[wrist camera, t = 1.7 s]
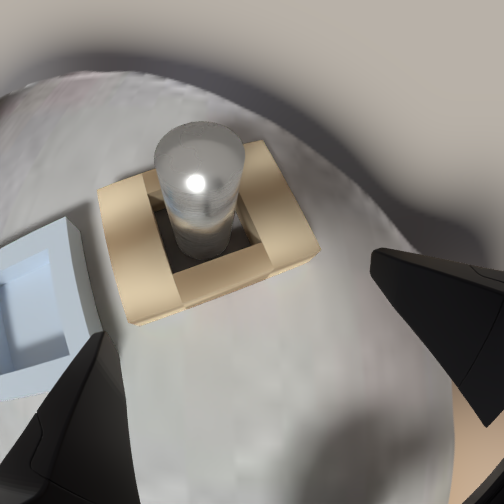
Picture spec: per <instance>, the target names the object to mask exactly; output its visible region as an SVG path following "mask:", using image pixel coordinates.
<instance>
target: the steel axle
mask: <svg viewBox="0 0 504 504" xmlns="http://www.w3.org/2000/svg"><path fill="white" fill-rule="evenodd" d="M244 162H245V149H244V146H243V143H242V141H241V140H240V138H239V137H238V136H237V135H236V134H235V133H234V132H233V131H232V130H230V129H229V128H227V127H225V126H222V125H220V124H217V123H212V122H204V121H203V122H191V123H187V124H183V125H181V126H178V127H176V128H174V129H173V130H171V131H170V132H168V133H167V134H166V135H165V136H164V137H163V138H162V139H161V140H160V142H159V143H158V145H157V147H156V150H155V155H154V163H155V167H156V171H157V175H158V179H159V183H160V187H161V190H162V194H163V198H164V202H165V205H166V209H167V212H168V216H169V219H170V223H171V226H172V229H173V233H174V236H175V239H176V243H177V245H178V247H179V248H180V250H181V251H182V252H183V253H184V254H185V255H187V256H189V257H191V258H193V259H197V260H207V259H211V258H214V257H216V256H218V255H219V254H221V253H222V252H223V251H224V250H225V248H226V247H227V245H228V243H229V240H230V235H231V230H232V224H233V219H234V213H235V208H236V203H237V198H238V192H239V187H240V182H241V177H242V172H243V167H244Z"/></svg>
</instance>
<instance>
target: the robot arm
mask: <svg viewBox="0 0 504 504" xmlns="http://www.w3.org/2000/svg"><path fill="white" fill-rule="evenodd" d="M370 274H371V277H372V278H373V280H374V281H375V282H376V284H377V285H378V287H379V288H380V289H381V291H382V292H383V293H384V295H385V296H386V298H387V299H388V300H389V302H390V303H391V305H392V306H393V307H394V308H395V310H396V311H397V312H398V313H399V314H400V316H401V317H402V318H403V319H404V320H405V321H406V323H407V324H408V325H409V326H410V327H411V329H412V330H413V331H414V332H415V333H416V335H417V336H418V337H419V338H420V340H421V341H422V342H423V343H424V344H425V346H426V347H427V348H428V349H429V351H430V352H431V353H432V354H433V356H434V357H435V358H436V360H437V361H438V362H439V363H440V365H441V366H442V367H443V369H444V370H445V371H446V373H447V374H448V375H449V376H450V378H451V379H452V381H453V382H454V383H455V384H456V386H457V387H458V389H459V390H460V392H461V393H462V394H463V396H464V397H465V398H466V400H467V401H468V403H469V404H470V406H471V407H472V408H473V410H474V411H475V413H476V414H477V416H478V417H479V419H480V420H481V422H482V423H483V425H484V426H485V427H486V428H487V427H488V426H489V425H490V424H491V423H492V422H493V421H494V420H495V419H496V418H497V416H498V415H499V414H500V413H501V412H502V411H503V410H504V271H499V270H494V269H488V268H483V267H478V266H474V265H468V264H464V263H459V262H454V261H449V260H445V259H439V258H435V257H430V256H424V255H420V254H414V253H409V252H404V251H399V250H393V249H388V248H379V249H376V250H374V251H373V252H372V254H371V264H370ZM0 504H141V503H140V499H139V494H138V489H137V484H136V479H135V473H134V467H133V460H132V454H131V446H130V438H129V429H128V418H127V406H126V397H125V391H124V385H123V379H122V372H121V365H120V358H119V353H118V351H117V349H116V347H115V345H114V344H113V342H112V340H111V338H110V337H109V335H108V333H107V332H106V331H100V332H96V333H93V334H92V335H91V337H90V338H89V339H88V341H87V342H86V343H85V344H84V346H83V347H82V348H81V350H80V351H79V352H78V354H77V355H76V356H75V358H74V359H73V360H72V362H71V363H70V364H69V366H68V367H67V368H66V370H65V371H64V373H63V374H62V375H61V377H60V378H59V379H58V381H57V382H56V384H55V385H54V387H53V388H52V389H51V391H50V392H49V394H48V395H47V397H46V398H45V400H44V401H43V403H42V404H41V406H40V407H39V409H38V410H37V413H35V415H34V416H33V418H32V419H31V421H30V422H29V424H28V425H27V427H26V428H25V430H24V431H23V433H22V434H21V436H20V437H19V439H18V440H17V441H16V443H15V444H14V446H13V447H12V448H11V450H10V451H9V453H8V454H7V455H6V457H5V458H4V460H3V461H2V462H1V464H0ZM462 504H504V458H503V459H502V461H501V462H500V463H499V464H498V466H497V467H496V468H495V469H494V470H493V472H492V473H491V474H490V475H489V476H488V477H487V479H486V480H485V481H484V482H483V483H482V484H481V485H480V486H479V487H478V488H477V489H476V490H475V491H474V492H473V493H472V494H471V495H470V496H469V498H467V499H466V500H465V501H464V502H463V503H462Z"/></svg>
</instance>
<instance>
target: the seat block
mask: <svg viewBox="0 0 504 504" xmlns="http://www.w3.org/2000/svg"><path fill="white" fill-rule="evenodd" d="M100 331H103V329H102V326H101V322H100V319H99V315H98V312H97V308H96V304H95V301H94V297H93V293H92V289H91V284H90V280H89V276H88V271H87V266H86V261H85V256H84V251H83V245H82V240H81V233H80V231H79V230H78V229H77V228H76V227H75V226H74V225H73V224H72V223H71V221H70V220H69V219H68V218H67V217H66V216H65V217H63V218H61V219H59V220H57V221H54V222H52V223H50V224H48V225H46V226H44V227H42V228H40V229H37V230H35V231H33V232H31V233H29V234H27V235H25V236H23V237H21V238H19V239H18V240H16V241H14V242H12V243H10V244H8V245H6V246H4V247H3V248H1V249H0V402H1V401H8V400H14V399H19V398H24V397H28V396H33V395H37V394H42V393H46V392H50V391H51V389H52V388H53V387H54V385H55V384H56V382H57V381H58V379H59V378H60V377H61V375H62V374H63V373H64V371H65V370H66V368H67V367H68V366H69V364H70V363H71V362H72V360H73V359H74V358H75V356H76V355H77V354H78V352H79V351H80V350H81V348H82V347H83V346H84V344H85V343H86V342H87V341H88V339H89V338H90V337H91V335H92V334H93V333H96V332H100Z"/></svg>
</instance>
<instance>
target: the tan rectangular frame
mask: <svg viewBox="0 0 504 504" xmlns="http://www.w3.org/2000/svg"><path fill="white" fill-rule="evenodd" d="M243 146H244V149H245V162H244V167H243V172H242V177H241V182H240V187H239V192H238V198H237V203H236V208H235V211H236V213H237V215H238V217H239V220H240V222H241V224H242V226H243V229H244V231H245V233H246V235H247V238H248V240H249V242H250V244H251V246H250V247H247V248H244V249H241V250H238V251H236V252H233V253H230V254H227V255H224V256H222V257H219V258H216V259H213V260H211V261H208V262H205V263H202V264H199V265H197V266H194V267H191V268H188V269H186V270H183V271H180V272H177V273H174V274H173V271H172V268H171V265H170V262H169V259H168V256H167V253H166V250H165V247H164V244H163V240H162V237H161V234H160V231H159V228H158V224H157V221H156V218H155V214H154V212H156V211H159V210H162V209H165V208H166V205H165V202H164V198H163V194H162V190H161V187H160V183H159V179H158V175H157V171H156V168H155V169H152V170H149V171H146V172H144V173H141V174H138V175H135V176H132V177H129V178H127V179H124V180H121V181H118V182H116V183H113V184H110V185H108V186H105V187H103V188H100V189H98V190H97V194H98V200H99V206H100V212H101V218H102V223H103V228H104V233H105V238H106V243H107V247H108V252H109V256H110V260H111V264H112V268H113V272H114V276H115V280H116V283H117V287H118V291H119V294H120V298H121V301H122V304H123V308H124V311H125V314H126V317H127V320H128V323H131V324H134V325H137V326H142V325H144V324H147V323H150V322H153V321H156V320H159V319H161V318H164V317H167V316H170V315H172V314H175V313H178V312H181V311H183V310H186V309H189V308H192V307H194V306H197V305H200V304H202V303H205V302H208V301H210V300H213V299H216V298H218V297H221V296H224V295H226V294H229V293H231V292H234V291H237V290H239V289H242V288H244V287H247V286H250V285H252V284H255V283H257V282H260V281H262V280H265V279H267V278H270V277H272V276H275V275H278V274H280V273H283V272H285V271H287V270H290V269H292V268H295V267H297V266H300V265H302V264H305V263H307V262H309V261H310V260H311V259H312V258H313V257H314V256H315V255H316V254H317V253H319V252H320V251H321V248H320V246H319V244H318V242H317V240H316V238H315V236H314V234H313V232H312V230H311V228H310V226H309V224H308V222H307V220H306V218H305V216H304V214H303V212H302V210H301V208H300V207H299V205H298V203H297V201H296V199H295V197H294V195H293V193H292V191H291V190H290V188H289V186H288V184H287V182H286V180H285V179H284V177H283V175H282V173H281V171H280V170H279V168H278V166H277V164H276V162H275V161H274V159H273V157H272V155H271V154H270V152H269V150H268V148H267V147H266V145H265V143H264V141H263V140H259V141H254V142H250V143H245V144H243Z"/></svg>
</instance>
